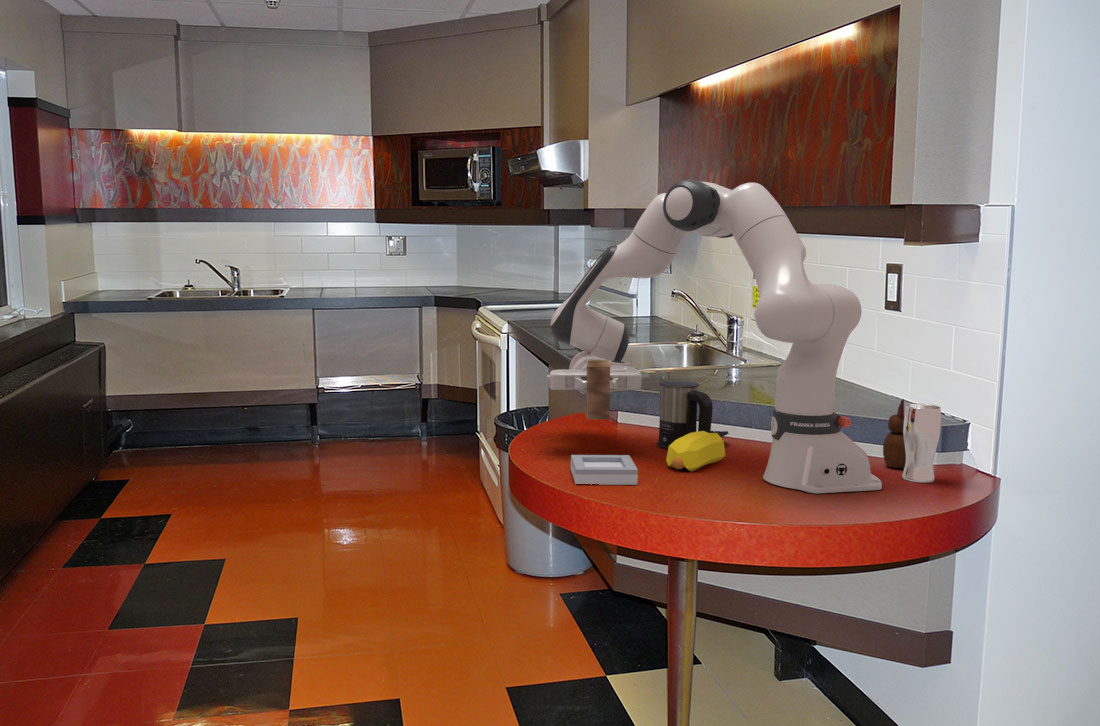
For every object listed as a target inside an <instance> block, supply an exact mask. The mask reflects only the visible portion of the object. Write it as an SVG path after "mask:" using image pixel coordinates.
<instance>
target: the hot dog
mask: <svg viewBox="0 0 1100 726" xmlns="http://www.w3.org/2000/svg"><path fill="white" fill-rule="evenodd" d="M725 450H726V449H725V442H724V440H723V439H722V437H720V436H719V435H718V433H708V432H705V431H699V432H698V431H696V432H693V433H689V434H687V435H685V436H683V437H681V438H679V439H677V440H675V441H674V442H673V443H672V444H670V445H669V448H668V450H667V453H666V459H665V461H666V463H667V466H668V467H669V468H672V469H676V470H683V469H684V468H686V469H687V470H688V471H690V472H694V471H696V470H698V469H700V468H702V467H703V466H706V465H708V464H714V463H716V462H719V461H721V460H722V459H723V458H725V456H726V451H725Z"/></svg>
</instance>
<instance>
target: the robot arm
mask: <svg viewBox="0 0 1100 726" xmlns="http://www.w3.org/2000/svg"><path fill="white" fill-rule="evenodd" d="M691 234H696V235H700V236H703V237H709V238H710V237H713V238H715V237H716V238H719V239H726V238H732V237H733V238H734V240H735V242H736V243H737V246H738V247H739V249H740V251H741V253H742V255H743V256H744V258H745V260H746V261H747V265H748V266H749V268H750V269H751V271H752V273H753V276H754V279H755V281H756V284H757V288H758V289H757V290H758V295H759V296H758V297H759V298H758V300H757V302H756V305H755V310H754V321H755V324H756V326H757V328H758V330H759V332H760V333H761V334H762V335H763V336H765V337H766V338H767V339H770V340H773V341H777V342H782V343H786V344H787V343H788V344H789V343H790V344H791V343H792V345H791V348H790V350H789V353H788V355H787V357H786V358H785V360H783V362H782V363H781V364H780V365H779V368H778V369H777V373H776V384H775V385H776V387H775V405H774V406H775V407H774V408H773V409H772V417H771V426H770V432H771V437H772V438H771V439H772V440H771V446H770V451H769V455H768V457H769V458H768V461H767V465H766V468H765V471H764V473H763V475H762V479H763V480H764V481H766V482H767V483H770V484H772V485H775V486H779V487H781V488H782V487H783V488H789V489H793V490H799V491H803V492H807V493H809V494H810V493H811V494H827V493H828V494H829V493H844V492H845V493H847V492H849V493H851V492H863V491H864V492H866V491H880V490H882V489H883V483H882V480H881V479H880V478H878V476H876V475H874V474H872V473H871V472H872V471H871V463H870V459H869V457H868V454H867V453H866V452H865V450H864V449H863V448H861V447H860V446H859V445H858V444H856V442H854V441H853V439H851V438H850V437H849V436H847V435H846V434H845V433H844V432H842V428H844V429H848V428H849V427H851V424H852V420H851V419H850V417H847V416H844V415H842V416H841V415H840V414H837V413H836V412H834V405H835V404H834V403H835V392H836V389H835V388H836V379H837V373H838V368H839V364H840V361H841V359H842V355H843V351H844V349H845V347H846V343H847V341H848V339H849V338H850V335H851V334H852V332H853V331H854V330H855V329H856V328H857V326H858V325H859V323H860V320H861V317H862V305H861V302H860V300H859V298H858V296H857V295H856V294H855V292H853V291H851V290H850V289H847V288H846V287H842V286H840V285H837V284H832V283H826V284H825V283H824V284H821V283H820V284H819V283H818V284H815V283H814V284H813V283H812V282H811V281H810V279H808V277H807V273H806V269H805V267H804V262H805V259H806V257H807V249H806V247H805V244H804V243H803V241H802V240H801V238H800V236H799V234H798V233H797V231H796V230H795V228H794V227H793V225H792V223H791V221H790V219H789V217H788V216H787V214H786V212H785V211H784V209H783V208H782V206H781V205H780V203H778V201H777V200H776V198H775V197H774V196H773V195H772V194H771V193H770V191H768V189H766V187H765V186H763V184H760V183H757V182H746V183H742V184H740V185H738V186H736V187H735V188H733V189H732V188H727V187H725V186H722V185H719V184H717V183H714V182H707V181H701V180H696V179H685V180H679V181H678V182H675V183H673V184H672V185H671V186H670V187H669V189H668V190H667V191H666V192H663V193H659V194H658V195H657V196H655V197H654V199H652V201H651V202H650V203H649V204H648V206H647V207H646V209H645V210H644V212H643V213H642V214H641V216H640V217H639V219H638V220H637V222H636V224H635V225H634V227H633V230H632V232H631V233H630V234H629V236H628V237H627V238H626V239H625V240H623V241H622V242H620V243H619V244H616V245H615V244H613V245H610V246H608V247H607V248H606V249H605V250H604V251H603V252H602V253H601V254H600V255H599V257H598V258H597V259H596V260H595V261H594V262H593V264H592V265H591V266H590V267H589V269H588V271H587V272H586V273H585V274H584V276H583V277H582V278H581V280H580V281H579V283H578V284H577V285H576V286H575V287H574V289H573V290H572V291H571V293H570V294H569V295H568V297H566V299H565V300H564V301H562V303H561V304H560V305H559V306H558V307H557V308H556V310H555V311H554V313H553V315H552V317H551V320H550V324H549V328H550V330H551V333H552V335H553V337H554V339H555V341H557V342H561V343H563V344H565V345H568V346H572V347H574V348H576V349H579V350H581V351H579V352H578V353H576V354H575V355H574V356H573V357H572V359H571V361H570V363H569V368H568V369H553V370H551V371H550V372H549V374H547V375H546V380H547V381H549V382H548V383H549V384H548V385H549V389H550V390H553V391H558V390H559V391H578V392H580V394H582V395H584V396H586V389H588V386H587V385H588V381H587V360H608V361H609V362H610V363H611V367H610V393H619V392H622V393H623V392H628V391H639V390H640V391H641V389H642V379H643V378H642V377H643V375H642V372H640V371H639V370H638V369H637V368H635V367H633V366H631V363H630V362H627V361H622V360H623V359H624V357H625V355H626V352H627V350H628V346H629V341H630V336H629V331H628V329H627V326H626V325H625V323H623V322H622V321H618V320H617V319H615V318H612V317H610V316H608V315H605V314H603V313H600V312H598V311H597V310H594V309H592V308H590V307H588V306H587V303H588V302H589V301H590V299H591V298H592V297H593V296H594V295H595V293H596V292H597V290H598V289H599V288H600V287H601V285H602V284H603V283H604V282H606V281H607V280H610V279H614V278H632V279H650V278H654V277H658V276H660V275H662V274H663V273H665V272H666V270H668V268H669V267H670V266H671V264H672V263H673V261H674V260H675V258H676V256H677V254H678V252H679V250H680V248H681V246H682V244H683V243H684V242H685V239H686V238H687V237H688V236H689V235H691Z"/></svg>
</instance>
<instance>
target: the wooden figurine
mask: <svg viewBox="0 0 1100 726" xmlns="http://www.w3.org/2000/svg"><path fill="white" fill-rule="evenodd" d="M904 406H905V399H904V398H902V399H900V403H899V406H898V408H897V413H896V414H892V415H891V416H890V417H889V418H888V423H887V428H888V430H889V431H890V432H888V433H887V434H886V435H885V438H884V440H883V444H882V455H883V456H882V457H883V459H884V464H885V465H886V466H888V468H891V467H893V468H892V469H895V468H903V469H904V467H905V447H904V438H903V423H904V415H905V407H904Z"/></svg>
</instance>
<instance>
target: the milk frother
mask: <svg viewBox="0 0 1100 726" xmlns="http://www.w3.org/2000/svg"><path fill="white" fill-rule="evenodd" d="M658 384H659V425H658V426H659V428H658V442H657V446H658V447H660V448H664V449H668V448H669V445H670V444H672V443H673V442H674V441H675V440H677V439H679V438H681V437H683V436H685V435H687V434H689V433H693V432H699V431H705V432H708V433H718V435H719V436H720V437H721V438H722V437H725V436H727V435H729V431H728V430H723V431H721V430H720V431H719V430H711V429H712V423H713V422H712V420H713V409H714V408H713V407H714V405H713V401H712V399H711V397H710V396H709V395H708V394H707V393H705V392H704V391H703V392H702V391H699V386H700V383H699V382H695V381H692V380H691V381H690V380H664V381H659V382H658ZM698 407H699V408H698ZM698 409H699V411H698ZM697 417H698V418H697ZM697 421H698V424H697ZM697 425H698V427H697Z"/></svg>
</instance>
